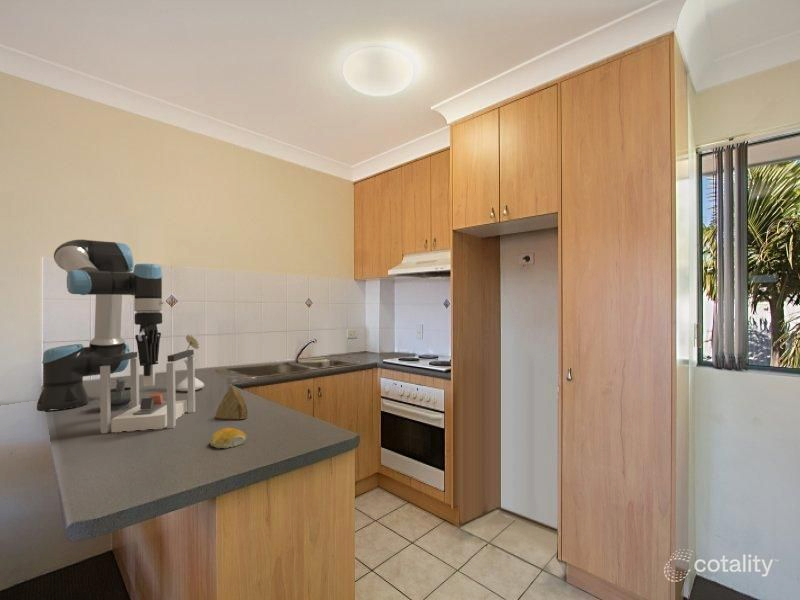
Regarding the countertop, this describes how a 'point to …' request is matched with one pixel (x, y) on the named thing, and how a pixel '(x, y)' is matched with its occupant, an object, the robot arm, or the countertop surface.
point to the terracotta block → (157, 398)
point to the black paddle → (147, 403)
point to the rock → (232, 406)
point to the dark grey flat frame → (134, 354)
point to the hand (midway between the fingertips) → (149, 385)
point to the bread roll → (228, 438)
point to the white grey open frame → (136, 416)
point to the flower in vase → (184, 384)
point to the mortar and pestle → (120, 395)
